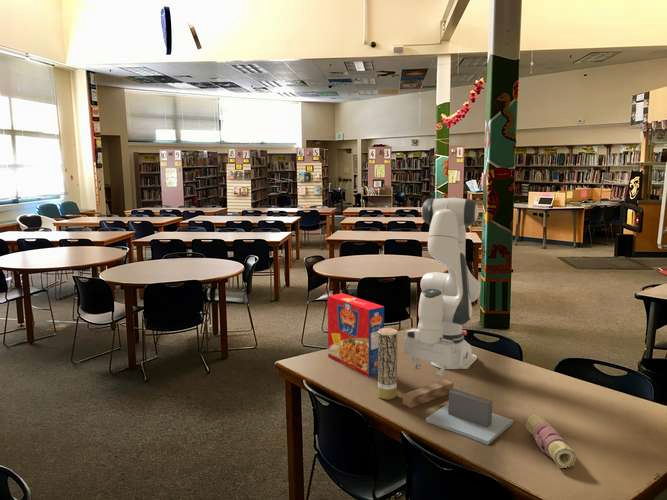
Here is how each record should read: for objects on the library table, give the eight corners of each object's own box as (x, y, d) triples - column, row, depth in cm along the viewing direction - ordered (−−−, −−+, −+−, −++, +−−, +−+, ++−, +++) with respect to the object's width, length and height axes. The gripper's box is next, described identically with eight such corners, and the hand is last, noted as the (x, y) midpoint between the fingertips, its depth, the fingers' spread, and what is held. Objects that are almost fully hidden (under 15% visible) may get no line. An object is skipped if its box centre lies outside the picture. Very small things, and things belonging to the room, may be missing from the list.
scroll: (517, 429, 164) (544, 466, 144) (529, 409, 163) (557, 443, 143) (539, 439, 164) (568, 476, 144) (550, 418, 163) (581, 453, 143)
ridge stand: (425, 421, 172) (426, 395, 171) (453, 403, 185) (454, 378, 184) (488, 444, 158) (489, 416, 156) (513, 423, 171) (514, 396, 169)
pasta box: (328, 357, 231) (327, 295, 227) (342, 353, 236) (342, 293, 231) (368, 377, 209) (368, 309, 204) (383, 372, 213) (384, 306, 209)
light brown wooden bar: (444, 389, 198) (445, 379, 197) (453, 392, 195) (453, 382, 194) (402, 404, 185) (402, 394, 184) (410, 409, 182) (410, 398, 181)
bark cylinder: (395, 401, 187) (396, 334, 183) (376, 399, 189) (377, 333, 185) (397, 393, 194) (398, 328, 190) (379, 391, 195) (379, 327, 191)
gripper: (460, 339, 181) (458, 377, 183) (411, 327, 195) (410, 363, 197) (451, 343, 177) (449, 382, 178) (401, 331, 190) (400, 367, 192)
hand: (428, 372), depth 188 cm, fingers open, 8 cm apart
